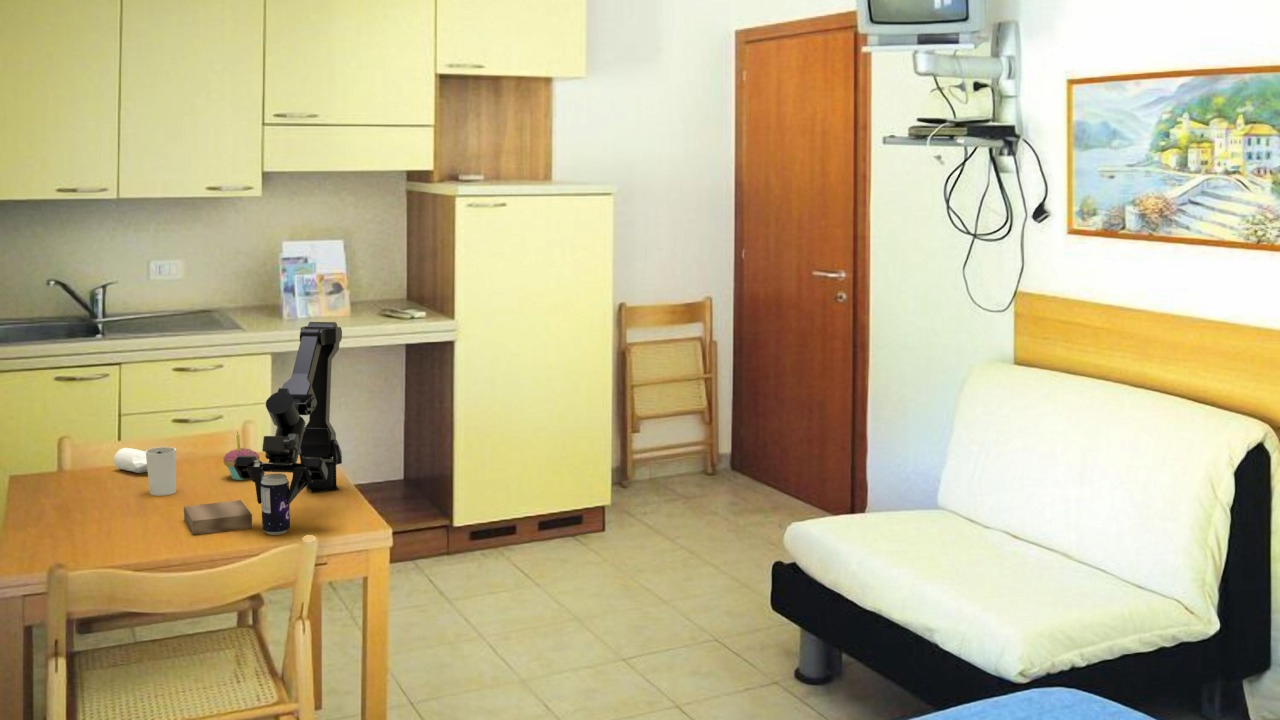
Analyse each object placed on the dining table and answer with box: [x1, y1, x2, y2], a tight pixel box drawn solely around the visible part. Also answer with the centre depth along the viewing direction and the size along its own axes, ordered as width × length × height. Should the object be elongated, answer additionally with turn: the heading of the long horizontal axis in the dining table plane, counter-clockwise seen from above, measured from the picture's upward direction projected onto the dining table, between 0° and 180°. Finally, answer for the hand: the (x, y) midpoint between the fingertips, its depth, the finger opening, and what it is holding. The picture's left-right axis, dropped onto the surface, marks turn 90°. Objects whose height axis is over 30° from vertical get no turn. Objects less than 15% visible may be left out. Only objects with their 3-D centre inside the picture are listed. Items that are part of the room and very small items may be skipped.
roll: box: [113, 447, 148, 474], centre depth 324 cm, size 6×12×6 cm, turn 55°
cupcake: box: [222, 430, 261, 481], centre depth 320 cm, size 9×8×12 cm
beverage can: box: [260, 473, 291, 536], centre depth 277 cm, size 6×6×12 cm
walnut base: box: [183, 500, 253, 536], centre depth 283 cm, size 12×12×3 cm
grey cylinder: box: [145, 446, 177, 497], centre depth 306 cm, size 7×7×10 cm
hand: (273, 503), depth 275 cm, fingers closed on beverage can, 6 cm apart
